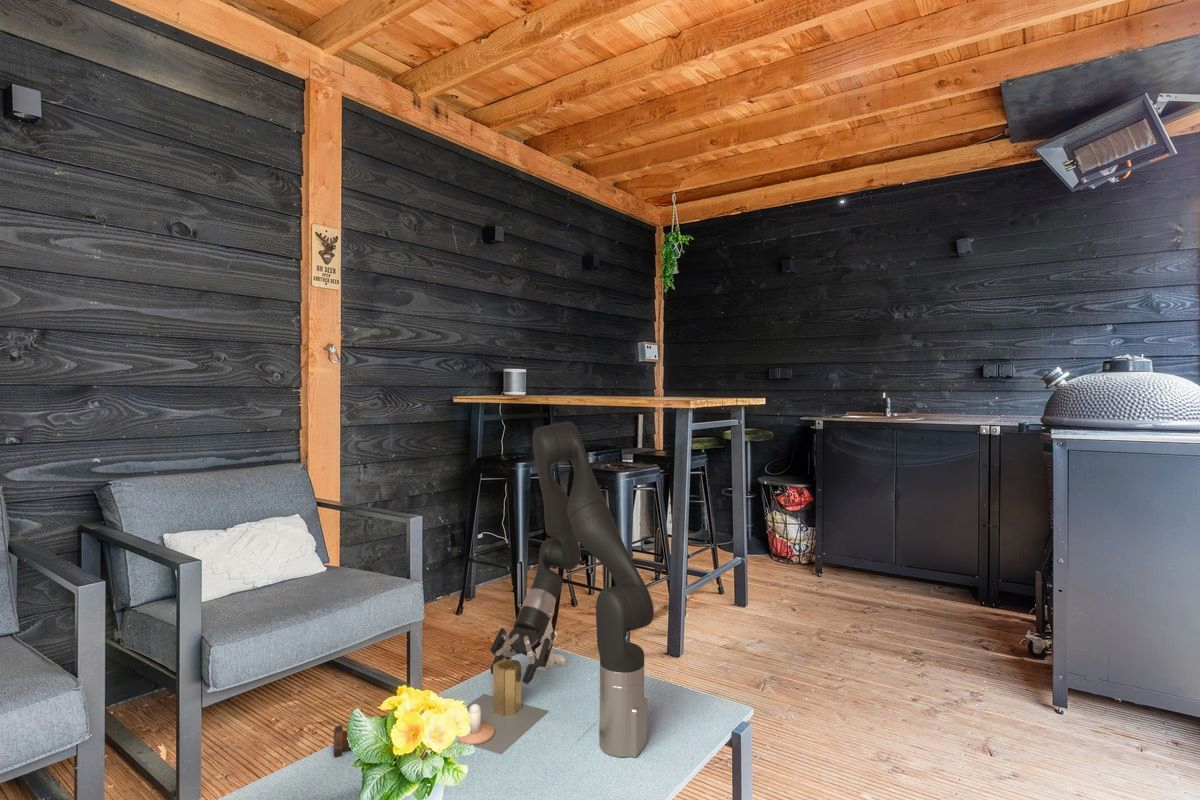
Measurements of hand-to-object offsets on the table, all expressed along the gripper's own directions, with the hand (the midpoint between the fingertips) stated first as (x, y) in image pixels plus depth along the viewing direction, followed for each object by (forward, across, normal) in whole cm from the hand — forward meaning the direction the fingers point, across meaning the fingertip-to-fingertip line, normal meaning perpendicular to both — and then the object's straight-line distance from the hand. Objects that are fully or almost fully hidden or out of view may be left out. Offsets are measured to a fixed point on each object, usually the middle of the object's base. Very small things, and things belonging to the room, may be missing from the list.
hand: (509, 678), depth 146 cm
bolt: (+23, -18, -10) cm, 31 cm away
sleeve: (+5, 0, +4) cm, 7 cm away
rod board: (+11, 0, +1) cm, 11 cm away
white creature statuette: (-12, -6, +24) cm, 28 cm away
